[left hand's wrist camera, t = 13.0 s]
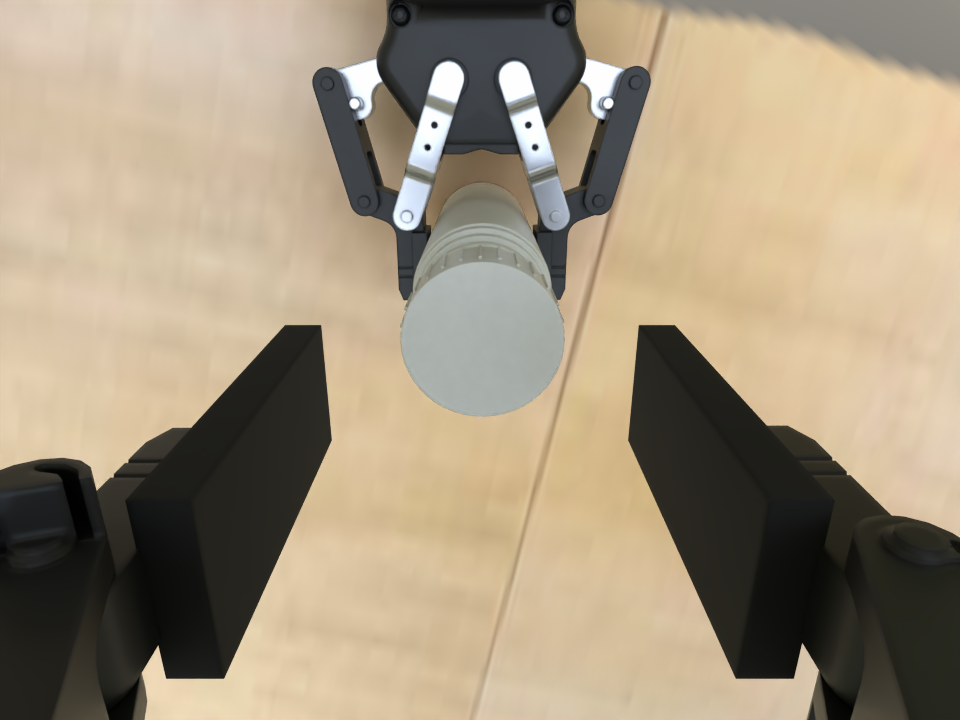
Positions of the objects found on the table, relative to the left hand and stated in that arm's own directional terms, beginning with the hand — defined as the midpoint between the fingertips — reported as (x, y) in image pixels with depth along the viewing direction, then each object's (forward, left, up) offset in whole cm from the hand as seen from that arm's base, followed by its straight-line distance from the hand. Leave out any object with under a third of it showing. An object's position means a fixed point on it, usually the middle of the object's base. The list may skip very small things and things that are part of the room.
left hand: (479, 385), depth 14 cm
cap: (0, 0, -4) cm, 4 cm away
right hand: (-2, +2, -16) cm, 17 cm away
